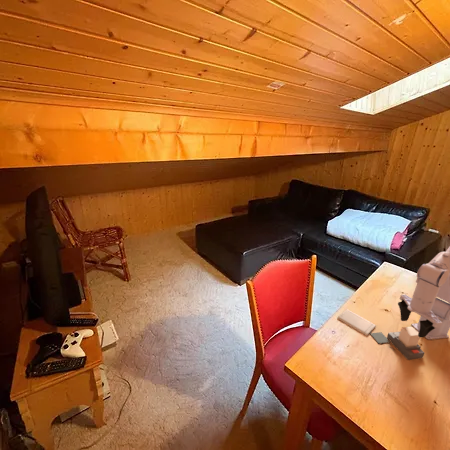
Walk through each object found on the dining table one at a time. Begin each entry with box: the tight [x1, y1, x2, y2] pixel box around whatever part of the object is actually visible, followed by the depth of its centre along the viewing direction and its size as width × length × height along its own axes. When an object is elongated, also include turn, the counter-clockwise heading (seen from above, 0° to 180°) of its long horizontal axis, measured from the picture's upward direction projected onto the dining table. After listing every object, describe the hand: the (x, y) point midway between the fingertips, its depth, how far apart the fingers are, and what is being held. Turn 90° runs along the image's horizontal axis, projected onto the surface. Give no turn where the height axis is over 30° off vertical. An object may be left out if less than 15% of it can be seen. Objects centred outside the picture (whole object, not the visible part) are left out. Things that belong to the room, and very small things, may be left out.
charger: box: [398, 325, 421, 348], centre depth 88 cm, size 4×4×6 cm
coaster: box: [369, 331, 391, 345], centre depth 95 cm, size 5×5×1 cm
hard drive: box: [337, 308, 377, 337], centre depth 103 cm, size 2×8×12 cm
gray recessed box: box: [386, 330, 425, 361], centre depth 90 cm, size 6×10×4 cm, turn 7°
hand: (412, 328), depth 87 cm, fingers open, 7 cm apart
